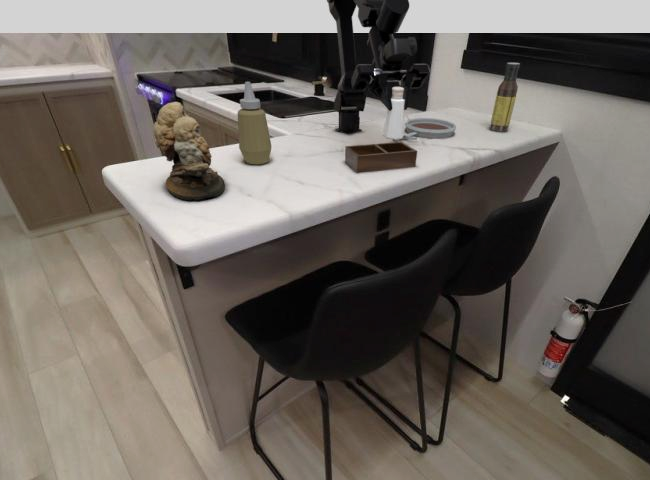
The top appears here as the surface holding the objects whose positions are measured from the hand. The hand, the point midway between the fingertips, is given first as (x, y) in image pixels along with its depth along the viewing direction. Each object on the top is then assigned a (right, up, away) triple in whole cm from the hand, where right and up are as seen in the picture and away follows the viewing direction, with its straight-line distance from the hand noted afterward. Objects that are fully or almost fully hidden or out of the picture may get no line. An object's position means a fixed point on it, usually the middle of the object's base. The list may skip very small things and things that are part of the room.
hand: (398, 109), depth 91 cm
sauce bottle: (+40, +13, +41) cm, 59 cm away
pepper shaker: (-1, -4, +5) cm, 7 cm away
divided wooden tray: (-4, -10, +8) cm, 14 cm away
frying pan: (+11, +8, +33) cm, 35 cm away
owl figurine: (-45, -21, -8) cm, 51 cm away
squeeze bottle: (-36, -10, +7) cm, 38 cm away
